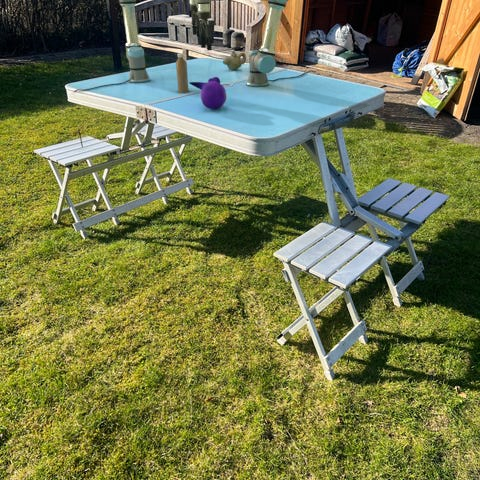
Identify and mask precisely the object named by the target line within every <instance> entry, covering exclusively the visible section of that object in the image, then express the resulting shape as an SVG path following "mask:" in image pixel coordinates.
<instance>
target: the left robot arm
mask: <svg viewBox="0 0 480 480" xmlns="http://www.w3.org/2000/svg"><path fill="white" fill-rule="evenodd" d="M188 1H189V11H191V26H192V35H194V36H195V35H196V37H200V35H199V31H200V20H201V19H199V18H198V12H199V11H198V8H197V6H198V4H197V0H188ZM119 5H120V6H121V8H122V13H123V22H124V29H125V35H126V36H125V38H126V43H125V56H126V59H127V60H128V66H129V76H128V79H127V80H125V81H123V82H118V83H108V84H103V85H99V86H94V87H90V88H86V89H85V88H84V89H81V88H80V89H78V88H77V89H75V90H74V91H73V93H76V92H78V91H79V92H80V91H81V92H82V91H83V92H85V91H89V90H94V89H98V88H103V87H109V86H115V85H117V86H118V85H124V84H125V83H128V82H129V83H133V84H141V83H148V82H150V76H149V74H148V71H147V67H146V59H145V50H144V48H143V47H142V43H140V42H139V41H140V40H139V34H138V25H137V17H136V8H135V6H136V5H137V0H119ZM77 132H78V136H79V140H80V144H81V148H83V147H84V146H83V141H82V136H81V130H80V129H78V131H77Z"/></svg>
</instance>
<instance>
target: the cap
mask: <svg viewBox="0 0 480 480" xmlns="http://www.w3.org/2000/svg"><path fill="white" fill-rule="evenodd" d="M184 55H185V54H184V53H183V52H182V53H181V52H180V53H177V58H179V57H183V58H185V56H184Z"/></svg>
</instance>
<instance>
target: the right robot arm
mask: <svg viewBox="0 0 480 480" xmlns="http://www.w3.org/2000/svg"><path fill="white" fill-rule="evenodd" d="M210 1H211V0H197V4H198V6H197V8H198V11H197V12H198V18H199V20H200V31H199V35H200V36H199V37H200V48H201V49H205V48H206V50H207V51H212V50H213V49H212V39H213V33H212V29H211V21H210V19H211V2H210ZM263 1H265V2H267V6H268V12H267V16H266V22H265V27H264V31H263V36H262V42H261V47H260V48H259V49H256V50H255V49H254V50H250V51H249V55H248V57H249V58H248V59H249V60H248V61H249V74H248V78H247V81H246V85H247V86H248V87H253V88H254V87H256V88H257V87H259V88H261V87H266V86H269V82H275V81H278V80H288V79H295V78H299V77H302V76H303V75H305V74H308V73H311V72H313V73H316V71H315V70H309V71H305V72H303V73H302V74H299V75H296V76H291V77H280V78H276V79H269V78H268V75H267V74H269V73H272V72H273V71H274V69H275V68H276V63H277V61H276V59H275V57H276V51H275V47H276V42H277V37H278V32H279V28H280V23H281V19H282V15H283V14H282V13H283V10H285V9H286V6H287V2H288V1H289V0H263Z"/></svg>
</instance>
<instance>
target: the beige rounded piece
mask: <svg viewBox="0 0 480 480" xmlns="http://www.w3.org/2000/svg"><path fill="white" fill-rule="evenodd" d="M241 58H242V59H241ZM246 61H247V56H246V53H245V52H243V51H242V52H239V54H237V53H236V52H235V50H232V51H231V54H230V56H226V57H224V58H223V60H222V63H223V65H225V66H227V69H228V70H230V71H238V70H239V69H240V68H241V67H242V65H244V64H245V63H246Z"/></svg>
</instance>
